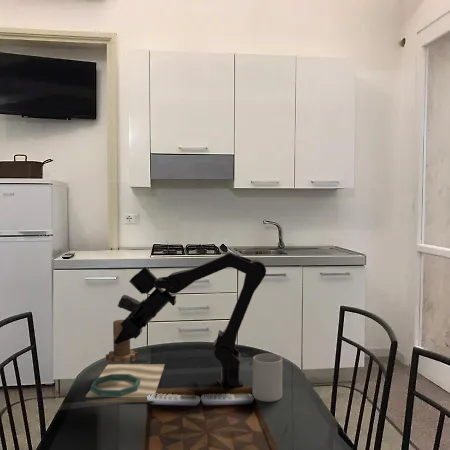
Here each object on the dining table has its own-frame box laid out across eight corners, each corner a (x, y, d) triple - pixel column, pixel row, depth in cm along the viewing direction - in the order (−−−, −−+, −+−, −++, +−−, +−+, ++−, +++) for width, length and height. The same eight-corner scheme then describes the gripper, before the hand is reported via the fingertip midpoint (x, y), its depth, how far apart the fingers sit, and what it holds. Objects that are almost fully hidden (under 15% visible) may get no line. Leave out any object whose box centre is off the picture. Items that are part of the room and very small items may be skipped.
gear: (139, 362, 140) (138, 324, 140) (106, 365, 138) (105, 326, 137) (136, 352, 150) (136, 317, 149) (105, 355, 147) (105, 319, 147)
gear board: (154, 402, 129) (154, 391, 129) (85, 402, 129) (85, 391, 129) (164, 368, 156) (164, 359, 156) (107, 368, 156) (107, 359, 156)
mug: (284, 401, 130) (284, 362, 129) (253, 402, 129) (254, 363, 129) (277, 385, 142) (278, 349, 141) (250, 385, 141) (250, 349, 141)
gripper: (139, 281, 152) (106, 315, 153) (127, 291, 134) (89, 330, 134) (163, 305, 152) (130, 339, 153) (155, 319, 134) (117, 357, 134)
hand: (117, 340), depth 143 cm, fingers closed on gear, 5 cm apart
